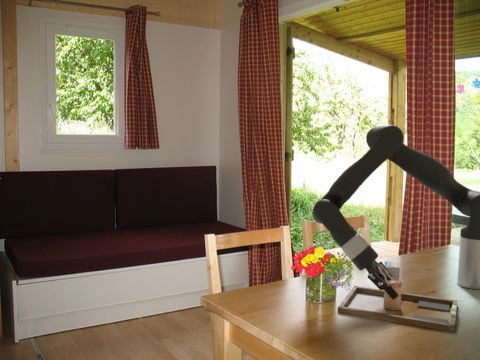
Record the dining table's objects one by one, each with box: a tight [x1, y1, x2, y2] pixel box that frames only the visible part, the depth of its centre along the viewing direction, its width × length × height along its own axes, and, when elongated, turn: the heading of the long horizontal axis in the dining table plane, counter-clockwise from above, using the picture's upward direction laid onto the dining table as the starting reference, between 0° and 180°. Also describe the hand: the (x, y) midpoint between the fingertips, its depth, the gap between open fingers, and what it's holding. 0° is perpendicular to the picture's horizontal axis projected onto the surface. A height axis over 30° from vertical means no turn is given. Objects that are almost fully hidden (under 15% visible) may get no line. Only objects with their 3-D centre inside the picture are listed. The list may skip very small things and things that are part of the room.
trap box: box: [337, 285, 458, 333], centre depth 156 cm, size 23×32×2 cm
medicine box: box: [384, 260, 401, 281], centre depth 175 cm, size 8×4×9 cm, turn 168°
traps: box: [413, 300, 451, 324], centre depth 152 cm, size 20×9×1 cm, turn 155°
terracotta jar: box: [383, 279, 403, 311], centre depth 156 cm, size 5×5×8 cm
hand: (397, 294), depth 156 cm, fingers closed on terracotta jar, 5 cm apart
